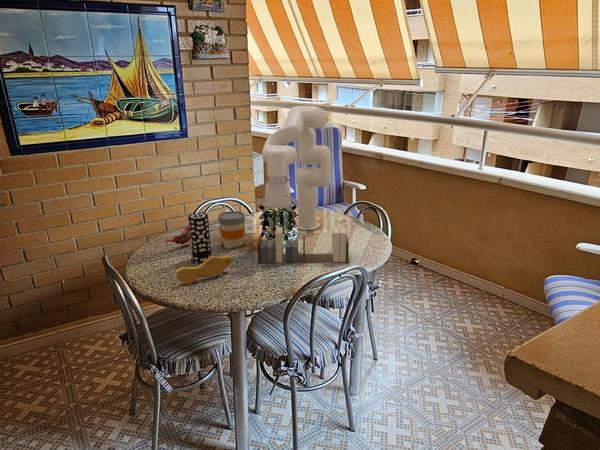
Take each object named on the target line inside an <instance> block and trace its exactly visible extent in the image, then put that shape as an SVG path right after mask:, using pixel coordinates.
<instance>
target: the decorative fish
mask: <svg viewBox="0 0 600 450" xmlns="http://www.w3.org/2000/svg"><path fill="white" fill-rule="evenodd" d="M232 263H233V257H232V256H231V255H230V254H229V255H227V254H225V255H224V254H223V255H222V256H214V255H212V257H210V258H208V259H207V260H206V261H205V262H204V263H199V264H198V266H182V267H180V268H178V269H176V270H175V274H176V276H175V277H176V279H177V280H178V281H180V283H183V284H185V285H191V284H192V283H193V282H195V281H196V279H199V278H200V279H201V278H210V277H212V276H215V275H218V276H222V275H223V274H224V271H225V270H226V269H227V268H229V267H230V266H231V265H232Z"/></svg>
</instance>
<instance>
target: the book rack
mask: <svg viewBox="0 0 600 450" xmlns="http://www.w3.org/2000/svg"><path fill="white" fill-rule="evenodd" d="M261 242H262V235H261V234H259V236H258V240H257V242H256V249H257V265H288V264H289V265H291V264H293V265H297V264H299V265H300V264H301V265H303V264H305V265H306V264H311V265H312V264H314V265H315V264H321V265H322V264H325V265H327V264H350V262H349V253H350V252H349V251H350V242H349V239H348V234H347V233H346V262H340V261H339V262H333V257H332V253H306V235H305V234H303V236H302V253H298V262H294V263H292V262H291V263H286V255H285V253H283V261H282V263H276V253H274V260H273V263H261V258H260V245H261Z"/></svg>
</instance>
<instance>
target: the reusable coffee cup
mask: <svg viewBox="0 0 600 450" xmlns="http://www.w3.org/2000/svg"><path fill="white" fill-rule="evenodd" d="M217 223H218V225H219V227H218V229H219V234H220V237H221V238H222V242H223V243H222V244H223V247H224V248H225V249H228V250H232V248H237V247H241V246H242V245H243V244H244V238H245V235H246V234H245V233H246V225H245V223H246V216H245V213H244V212H242V211H239V210H238V211H237V210H231V211H225V212H220V213H219V214H218V216H217Z"/></svg>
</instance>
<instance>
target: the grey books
mask: <svg viewBox="0 0 600 450" xmlns="http://www.w3.org/2000/svg"><path fill="white" fill-rule="evenodd" d="M284 251H285V252H284V254H285V255H286V263H291V262H292V263H294V262H298V254H299V239H286V240H285V246H284ZM274 254H275V240H274V239H269V240H267V239H265V240H264V239H263V240H262V239H261V245H260V258H261V263H273V260H274Z"/></svg>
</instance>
